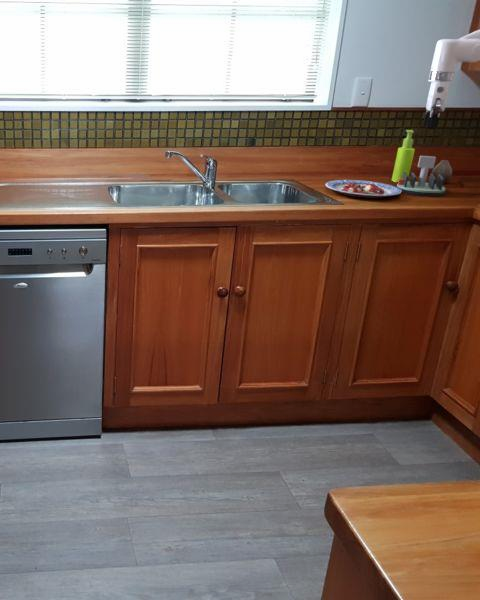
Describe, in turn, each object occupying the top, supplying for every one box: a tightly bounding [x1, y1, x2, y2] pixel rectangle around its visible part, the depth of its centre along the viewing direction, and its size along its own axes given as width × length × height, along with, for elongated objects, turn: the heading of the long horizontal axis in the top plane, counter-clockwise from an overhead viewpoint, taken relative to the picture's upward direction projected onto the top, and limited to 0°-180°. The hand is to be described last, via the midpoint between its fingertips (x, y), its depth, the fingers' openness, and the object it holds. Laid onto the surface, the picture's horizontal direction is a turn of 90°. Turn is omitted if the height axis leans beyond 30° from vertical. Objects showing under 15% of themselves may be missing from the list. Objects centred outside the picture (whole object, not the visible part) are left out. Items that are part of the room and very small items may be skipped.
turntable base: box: [395, 185, 447, 198], centre depth 228 cm, size 17×17×1 cm
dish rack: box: [396, 155, 446, 193], centre depth 225 cm, size 16×16×12 cm
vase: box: [431, 159, 453, 185], centre depth 242 cm, size 7×7×9 cm
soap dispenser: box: [391, 129, 416, 183], centre depth 241 cm, size 6×7×20 cm
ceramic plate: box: [325, 179, 402, 199], centre depth 224 cm, size 26×26×3 cm
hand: (429, 127), depth 219 cm, fingers open, 9 cm apart
